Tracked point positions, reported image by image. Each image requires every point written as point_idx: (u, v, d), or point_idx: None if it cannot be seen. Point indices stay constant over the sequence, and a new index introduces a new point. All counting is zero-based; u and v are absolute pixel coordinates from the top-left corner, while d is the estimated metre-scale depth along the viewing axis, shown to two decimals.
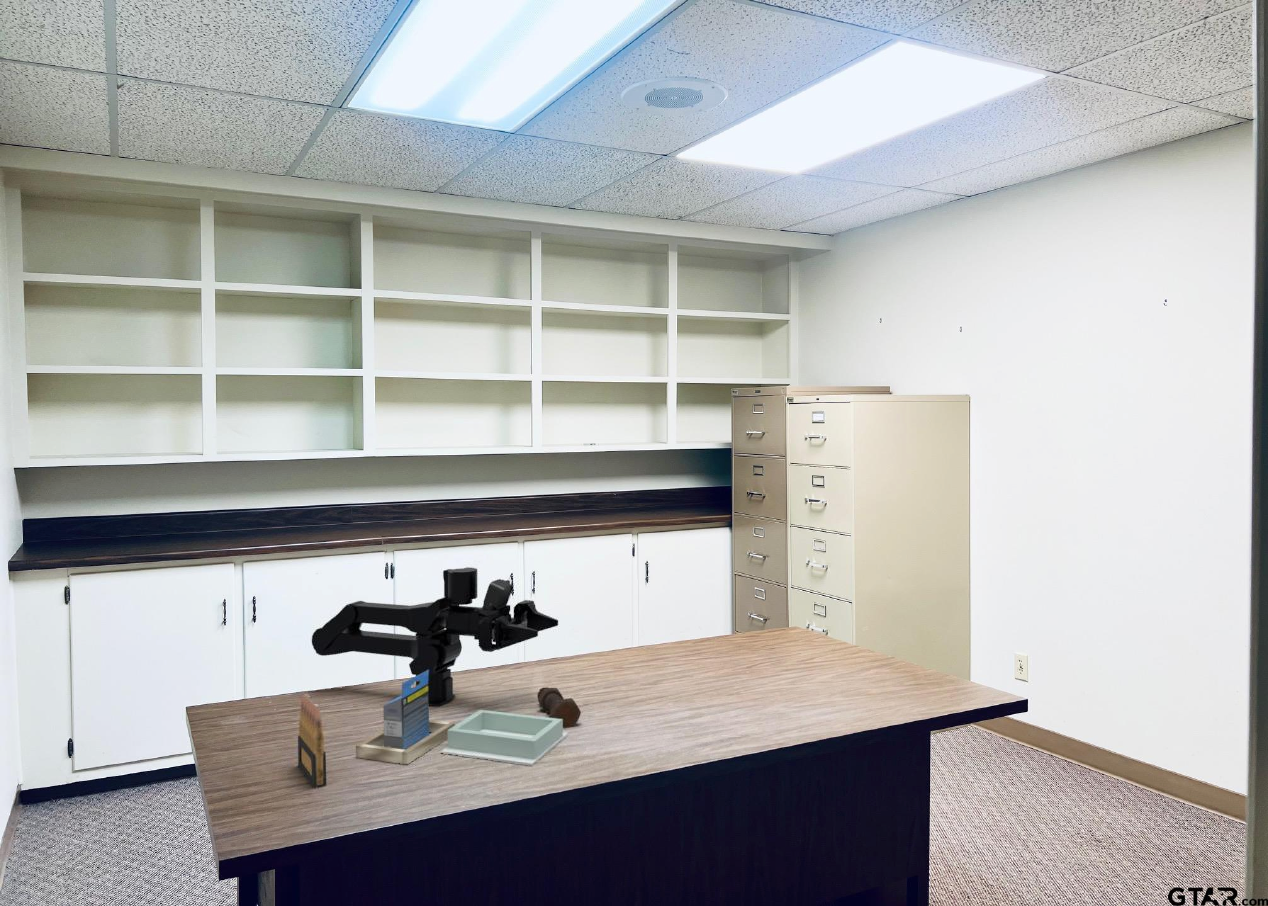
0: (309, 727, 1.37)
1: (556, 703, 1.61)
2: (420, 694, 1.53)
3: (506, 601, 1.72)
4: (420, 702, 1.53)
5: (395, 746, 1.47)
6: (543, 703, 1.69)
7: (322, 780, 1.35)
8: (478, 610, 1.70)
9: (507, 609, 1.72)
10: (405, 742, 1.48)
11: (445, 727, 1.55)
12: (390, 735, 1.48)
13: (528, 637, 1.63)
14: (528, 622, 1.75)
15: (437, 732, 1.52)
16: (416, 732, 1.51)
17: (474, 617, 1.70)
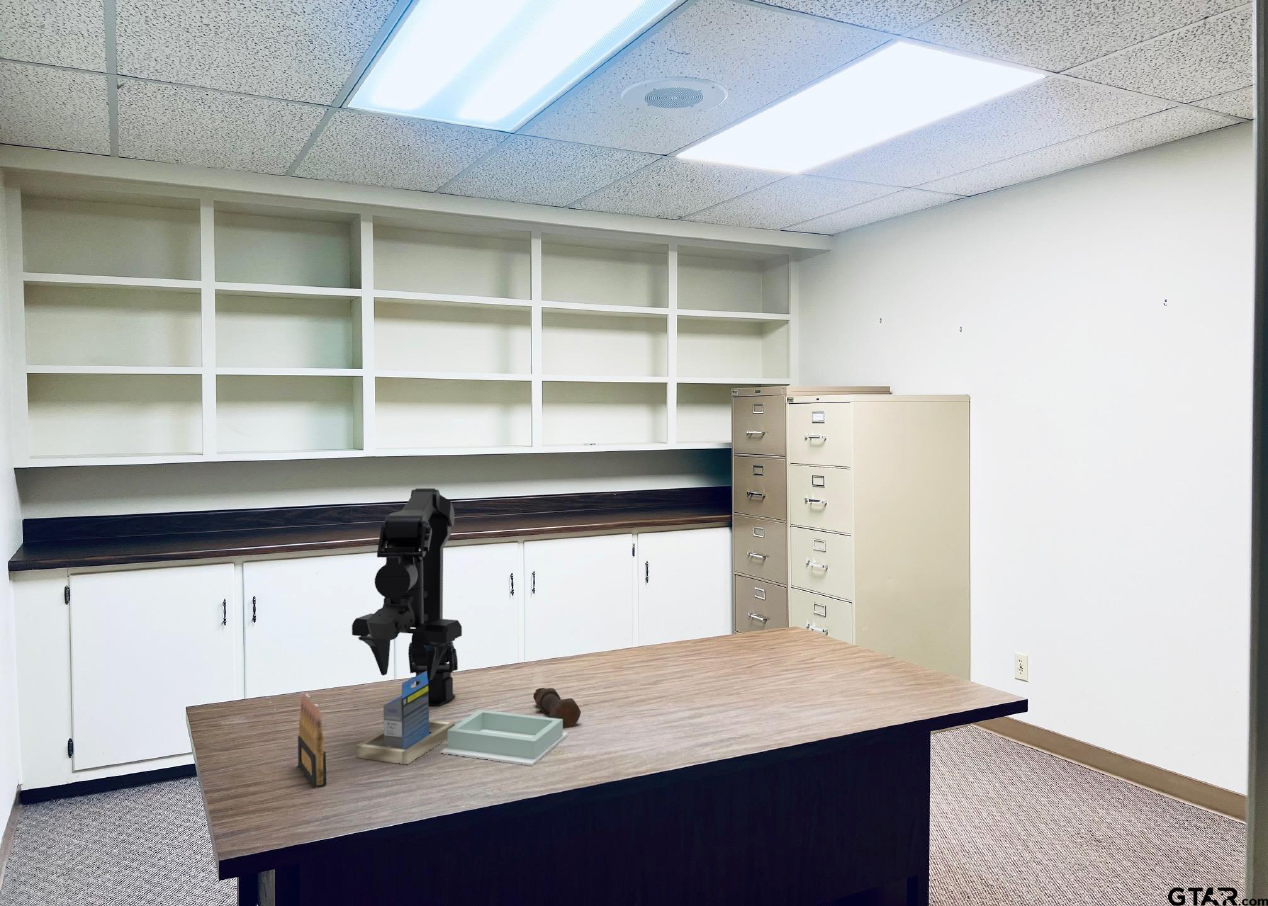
0: (309, 727, 1.37)
1: (556, 703, 1.60)
2: (420, 694, 1.53)
3: None
4: (420, 702, 1.53)
5: (395, 745, 1.47)
6: (541, 704, 1.68)
7: (322, 780, 1.35)
8: None
9: None
10: (405, 742, 1.48)
11: (445, 727, 1.55)
12: (390, 735, 1.48)
13: None
14: None
15: (437, 732, 1.52)
16: (416, 732, 1.51)
17: None
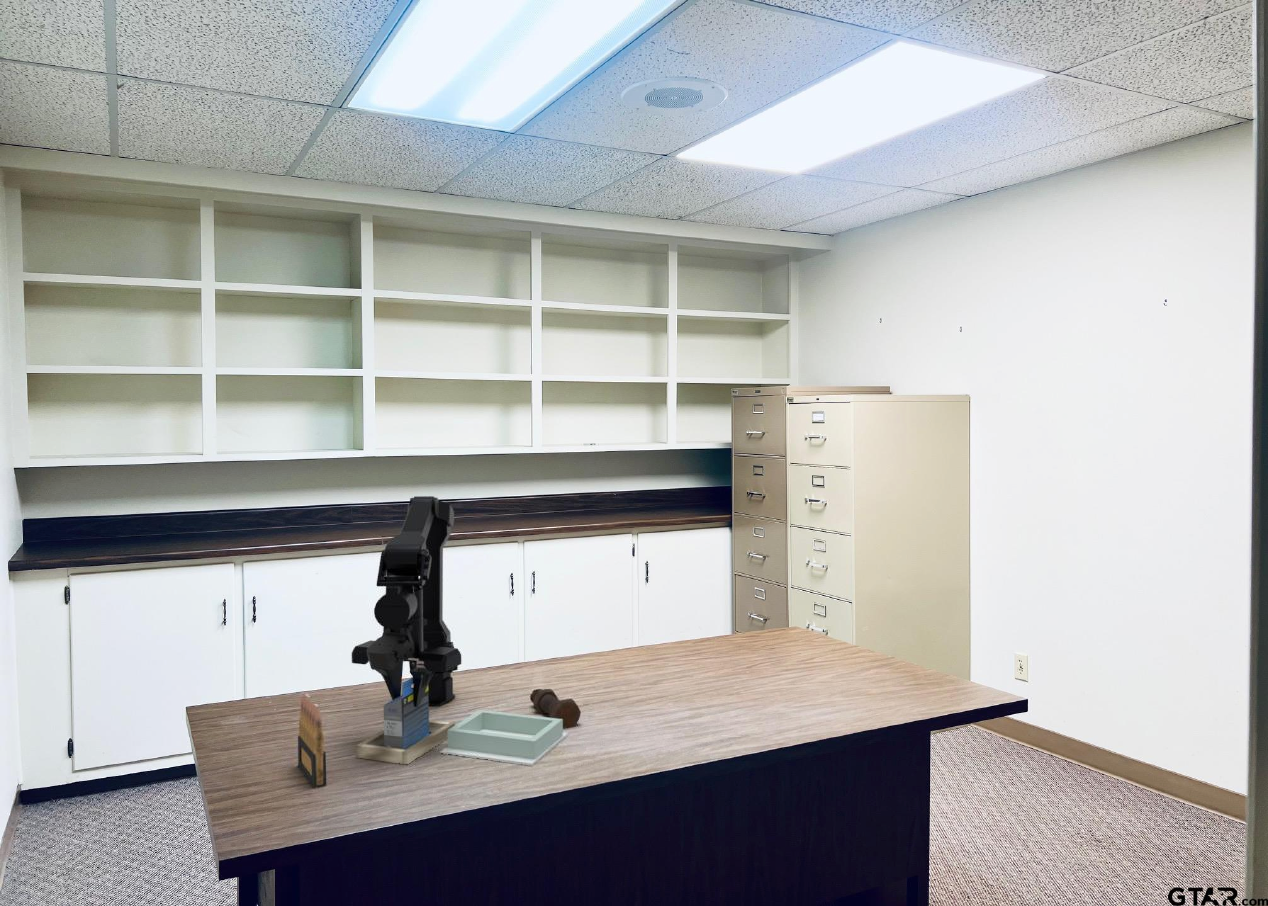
0: (309, 727, 1.37)
1: (557, 704, 1.60)
2: None
3: None
4: None
5: (395, 745, 1.47)
6: (539, 705, 1.68)
7: (322, 780, 1.35)
8: None
9: None
10: (405, 741, 1.48)
11: (445, 727, 1.55)
12: (390, 734, 1.48)
13: None
14: None
15: (437, 732, 1.52)
16: (416, 732, 1.51)
17: None
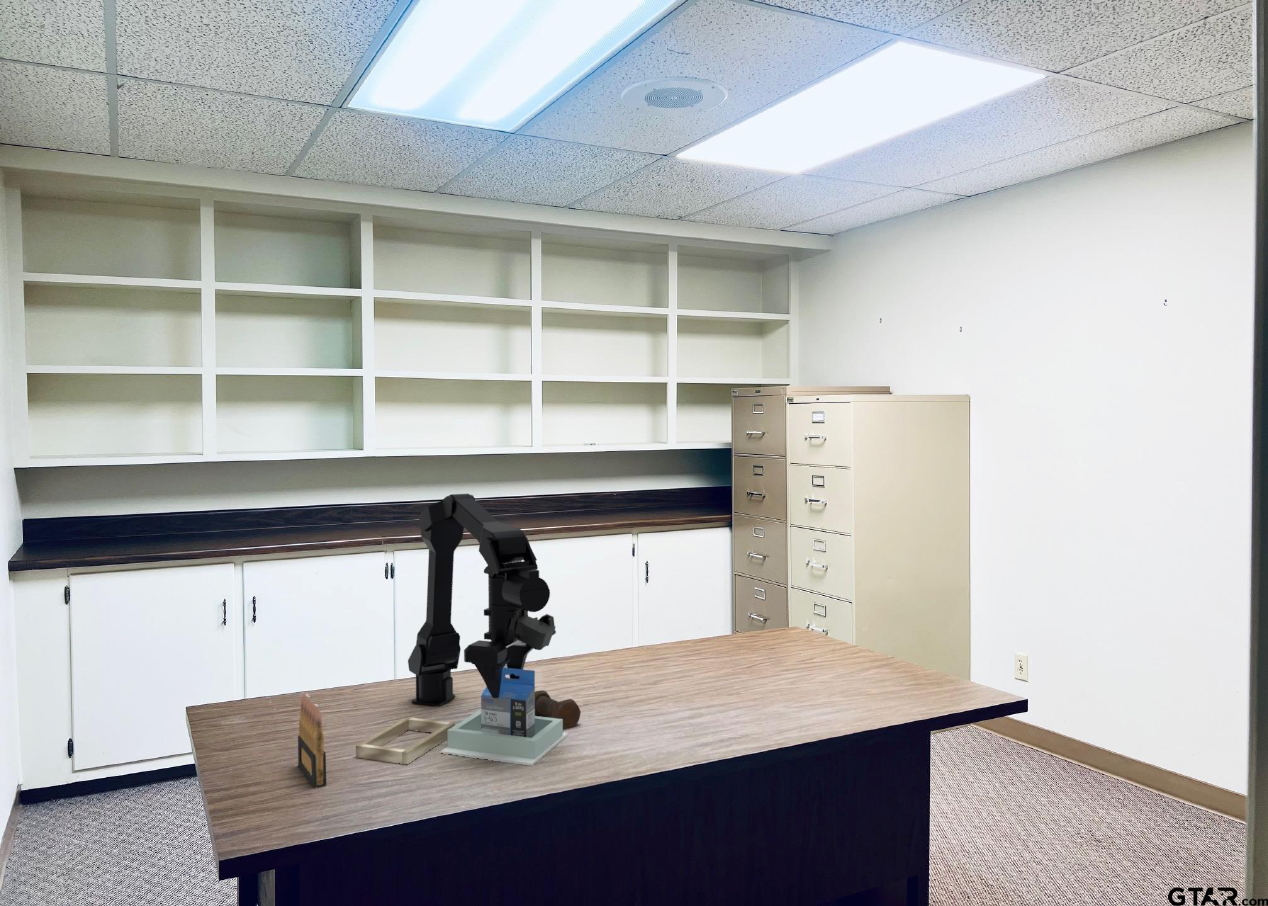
0: (309, 727, 1.37)
1: (558, 705, 1.60)
2: None
3: None
4: None
5: (532, 734, 1.51)
6: None
7: (322, 780, 1.35)
8: (514, 617, 1.48)
9: None
10: None
11: (445, 727, 1.55)
12: (529, 726, 1.50)
13: (490, 689, 1.48)
14: (513, 647, 1.56)
15: (437, 732, 1.52)
16: None
17: (506, 612, 1.49)
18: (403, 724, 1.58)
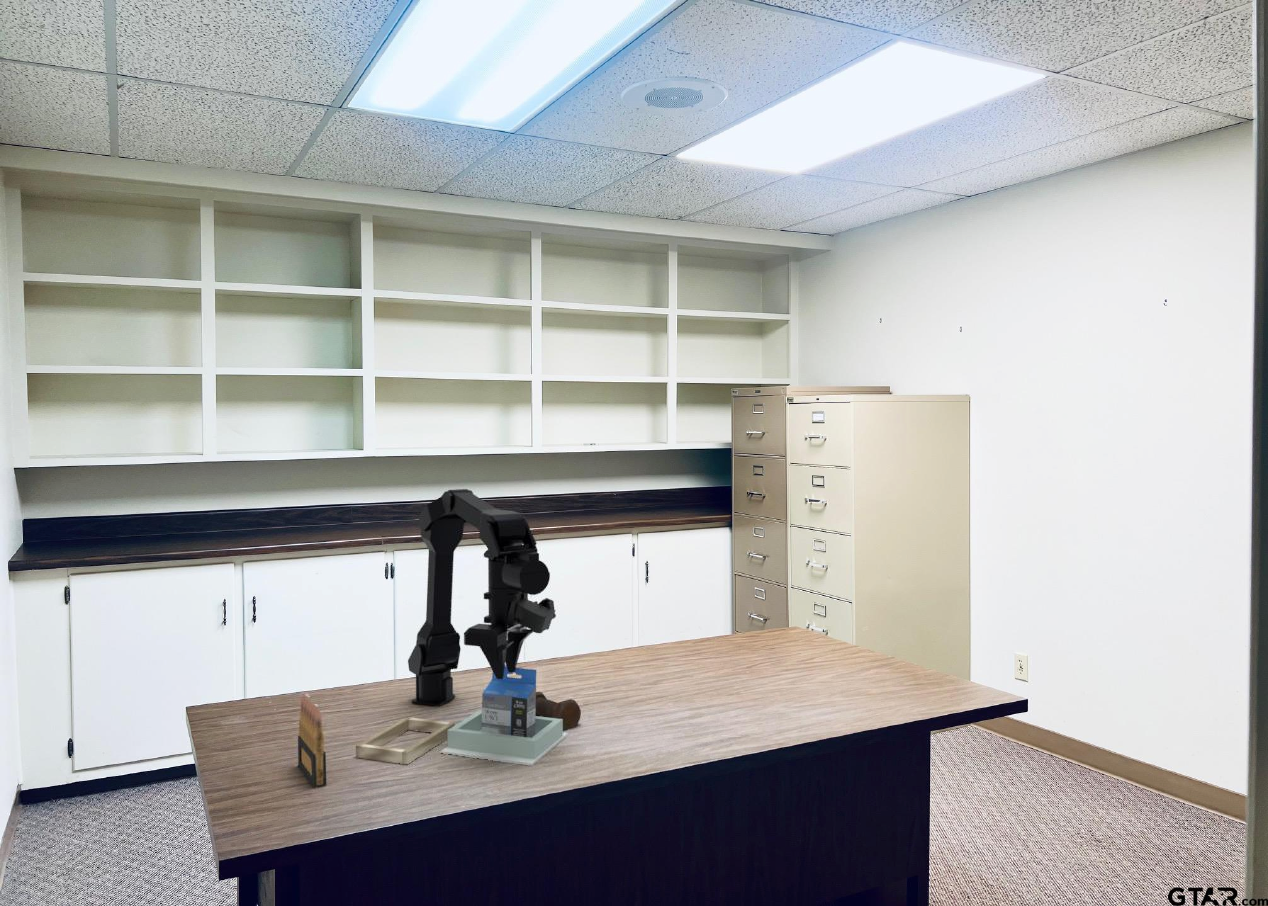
0: (309, 727, 1.37)
1: (559, 705, 1.59)
2: None
3: None
4: None
5: (532, 733, 1.52)
6: None
7: (322, 780, 1.35)
8: (513, 600, 1.48)
9: None
10: None
11: (445, 727, 1.55)
12: (530, 725, 1.51)
13: (494, 670, 1.49)
14: (509, 633, 1.54)
15: (437, 732, 1.52)
16: None
17: (506, 595, 1.49)
18: (403, 724, 1.58)
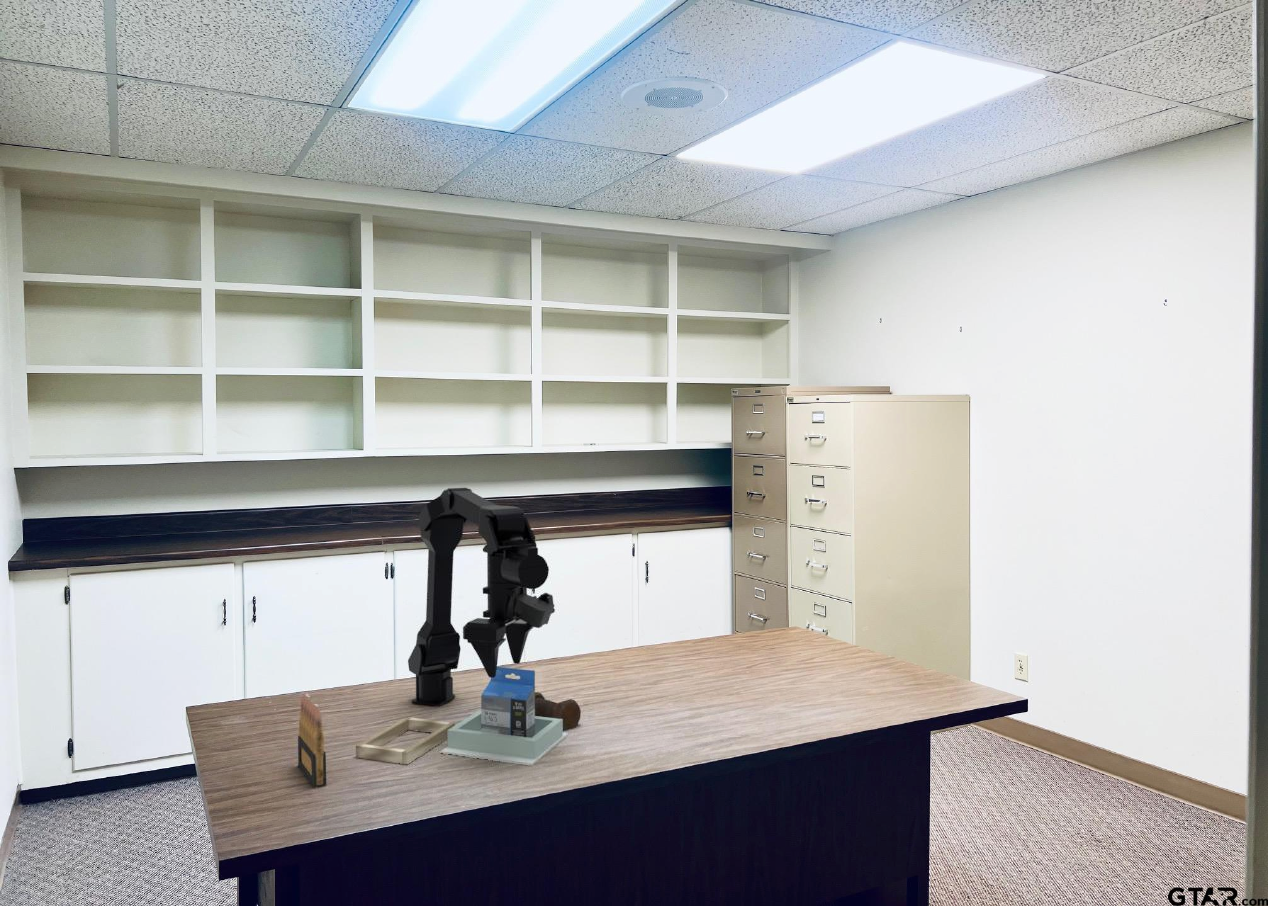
0: (309, 727, 1.37)
1: (560, 705, 1.59)
2: None
3: None
4: None
5: (532, 734, 1.51)
6: None
7: (322, 780, 1.35)
8: (513, 595, 1.48)
9: None
10: None
11: (445, 727, 1.55)
12: (529, 726, 1.50)
13: (486, 668, 1.47)
14: (515, 625, 1.57)
15: (437, 732, 1.52)
16: None
17: (505, 590, 1.49)
18: (403, 724, 1.58)
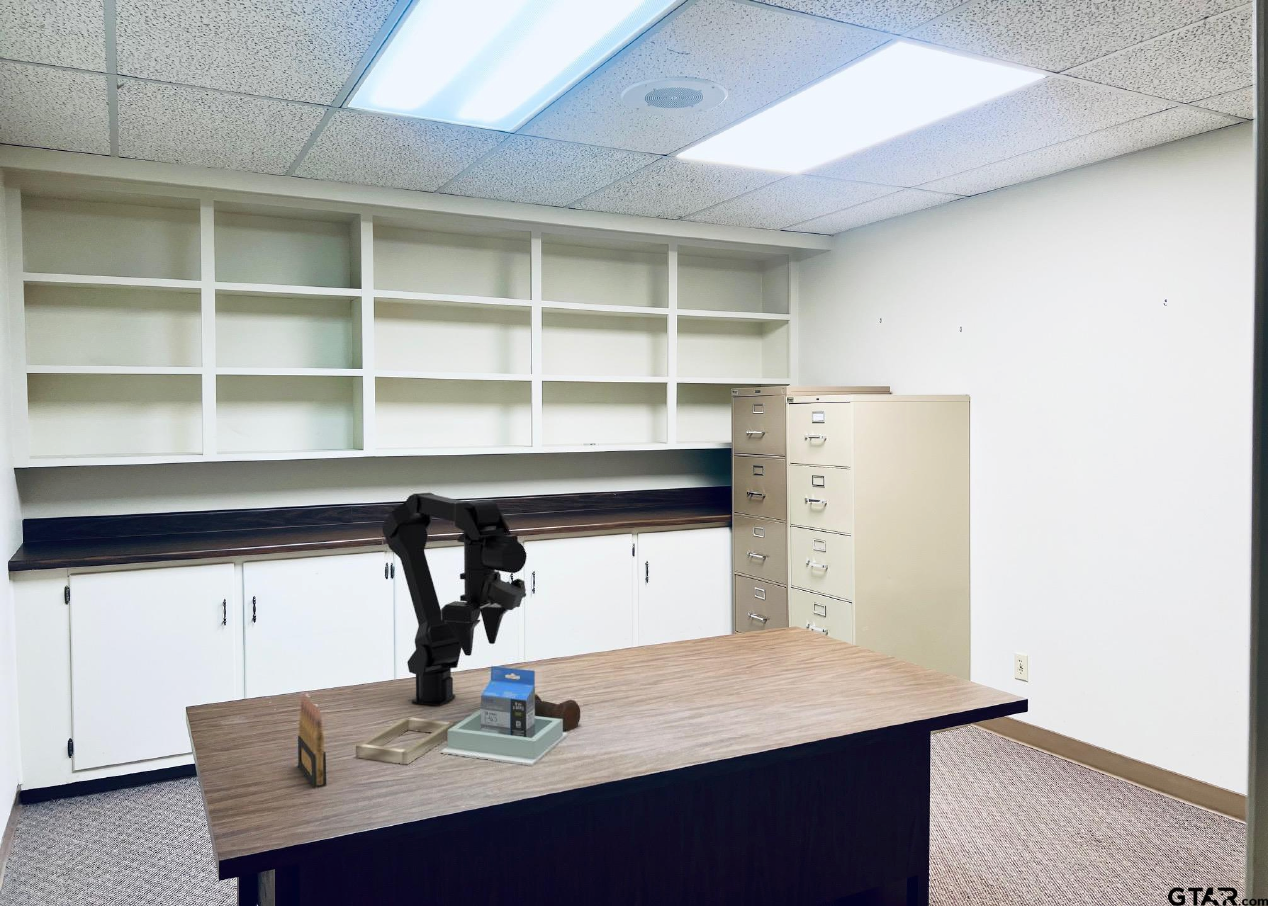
0: (309, 727, 1.37)
1: (561, 706, 1.59)
2: None
3: None
4: None
5: (532, 734, 1.51)
6: None
7: (322, 780, 1.35)
8: (487, 580, 1.62)
9: None
10: None
11: (445, 727, 1.55)
12: (529, 726, 1.50)
13: (462, 647, 1.61)
14: (490, 609, 1.71)
15: (437, 732, 1.52)
16: None
17: (480, 575, 1.63)
18: (403, 724, 1.58)
